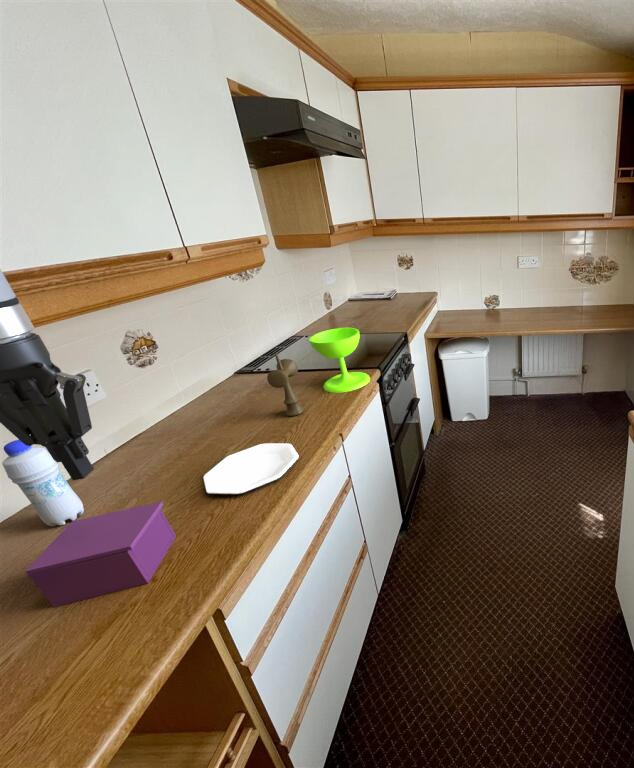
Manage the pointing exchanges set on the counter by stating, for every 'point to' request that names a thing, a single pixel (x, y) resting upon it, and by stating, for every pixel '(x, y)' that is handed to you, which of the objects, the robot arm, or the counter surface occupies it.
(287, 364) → the kendama
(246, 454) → the plate
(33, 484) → the bottle
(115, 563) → the purple hinged box
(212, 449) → the counter surface
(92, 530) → the lid
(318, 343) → the wineglass
